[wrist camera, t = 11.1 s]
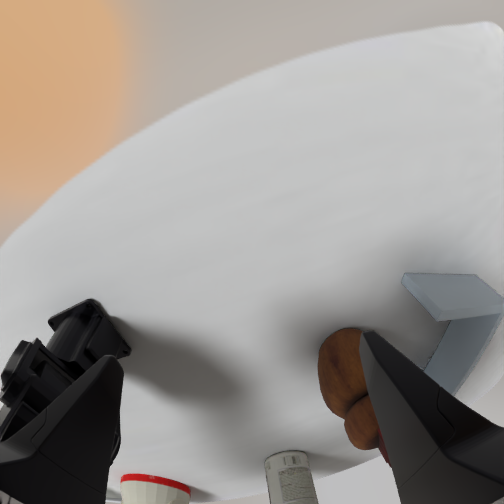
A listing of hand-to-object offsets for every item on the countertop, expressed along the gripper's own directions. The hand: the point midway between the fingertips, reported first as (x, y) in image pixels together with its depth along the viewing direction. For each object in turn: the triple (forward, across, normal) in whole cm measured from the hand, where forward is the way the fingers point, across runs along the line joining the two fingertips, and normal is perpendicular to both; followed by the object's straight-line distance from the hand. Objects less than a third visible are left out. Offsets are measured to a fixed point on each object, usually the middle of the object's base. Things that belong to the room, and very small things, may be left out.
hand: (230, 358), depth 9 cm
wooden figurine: (+12, -7, +14) cm, 20 cm away
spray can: (+11, 0, +38) cm, 39 cm away
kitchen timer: (+8, +26, +48) cm, 56 cm away
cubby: (+13, -16, +16) cm, 26 cm away
